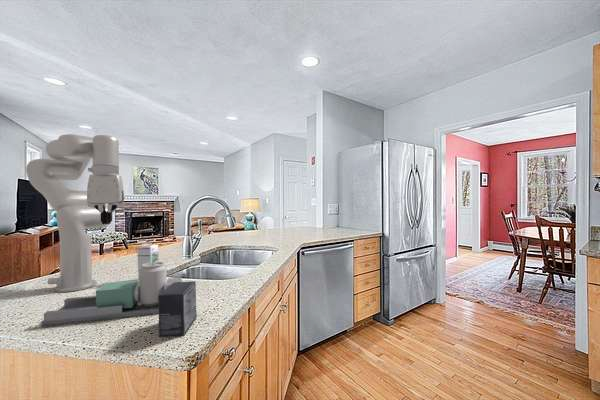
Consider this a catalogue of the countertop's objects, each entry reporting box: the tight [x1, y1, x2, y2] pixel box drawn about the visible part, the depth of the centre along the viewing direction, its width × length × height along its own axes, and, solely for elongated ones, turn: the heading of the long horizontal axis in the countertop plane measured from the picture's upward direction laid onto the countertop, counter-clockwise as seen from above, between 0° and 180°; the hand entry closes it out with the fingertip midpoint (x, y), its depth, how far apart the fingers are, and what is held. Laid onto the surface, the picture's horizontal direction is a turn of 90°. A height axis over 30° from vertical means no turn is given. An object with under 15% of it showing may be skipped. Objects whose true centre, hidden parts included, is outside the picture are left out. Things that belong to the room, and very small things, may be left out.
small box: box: [158, 280, 198, 338], centre depth 73 cm, size 11×6×10 cm, turn 5°
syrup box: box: [136, 243, 159, 280], centre depth 116 cm, size 6×6×14 cm
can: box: [139, 261, 168, 306], centre depth 86 cm, size 8×8×12 cm
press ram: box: [95, 279, 139, 308], centre depth 83 cm, size 10×8×6 cm
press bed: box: [41, 276, 183, 328], centre depth 83 cm, size 33×12×8 cm, turn 107°
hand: (106, 223), depth 97 cm, fingers closed
